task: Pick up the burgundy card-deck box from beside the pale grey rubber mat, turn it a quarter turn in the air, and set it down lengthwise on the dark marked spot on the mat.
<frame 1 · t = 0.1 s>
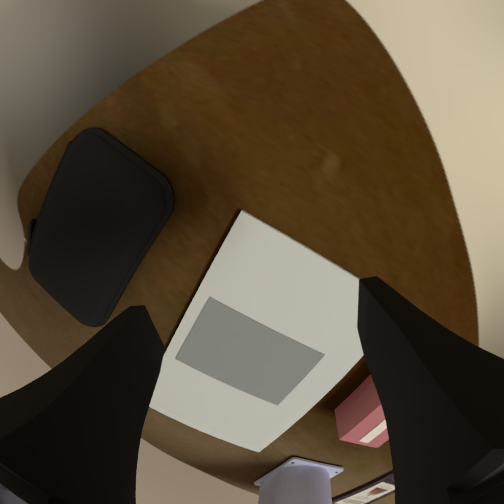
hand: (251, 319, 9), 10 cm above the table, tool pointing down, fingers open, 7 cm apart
deck box: (379, 389, 23), on the table
mat: (252, 368, 23), on the table
carrying case or bag: (93, 226, 21), on the table
chocolate bar: (389, 479, 30), on the table
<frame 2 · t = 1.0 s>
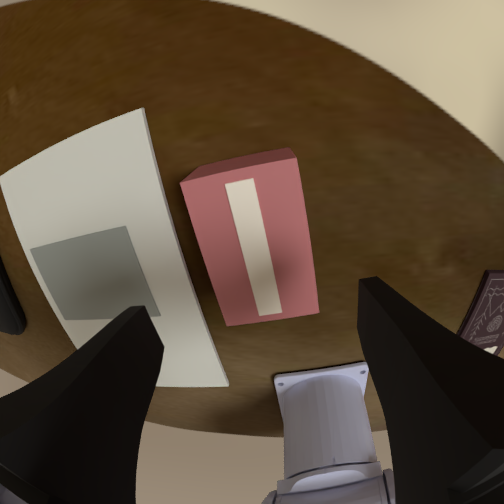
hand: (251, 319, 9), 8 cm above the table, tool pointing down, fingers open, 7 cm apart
deck box: (258, 222, 17), on the table
mat: (105, 288, 19), on the table
chocolate bar: (475, 342, 22), on the table
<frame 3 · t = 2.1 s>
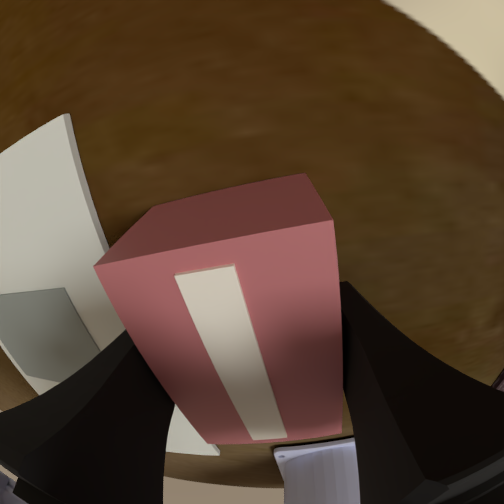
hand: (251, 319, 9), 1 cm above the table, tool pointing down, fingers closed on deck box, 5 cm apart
deck box: (253, 294, 11), on the table, touching gripper
mat: (60, 352, 13), on the table
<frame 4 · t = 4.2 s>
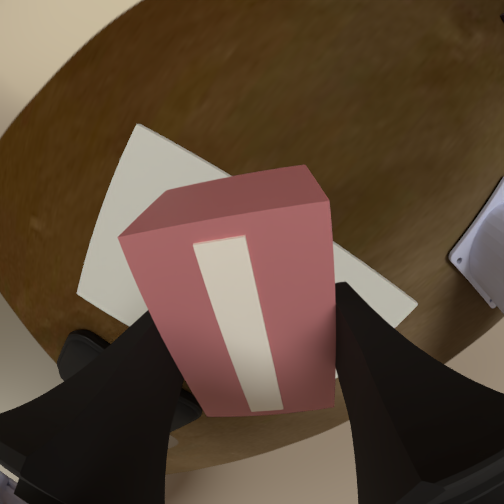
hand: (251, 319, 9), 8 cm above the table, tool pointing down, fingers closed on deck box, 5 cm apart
deck box: (254, 274, 12), point 6 cm above the table, touching gripper
mat: (240, 302, 19), on the table
carrying case or bag: (127, 379, 26), on the table
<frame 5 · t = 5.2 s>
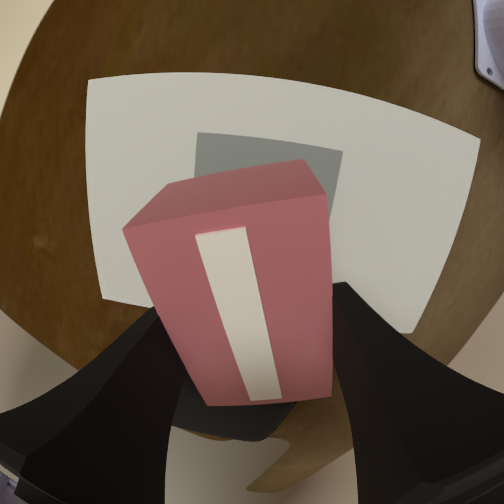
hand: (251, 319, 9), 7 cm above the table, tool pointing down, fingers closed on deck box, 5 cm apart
deck box: (253, 265, 12), point 4 cm above the table, touching gripper
mat: (279, 216, 15), on the table
carrying case or bag: (202, 387, 23), on the table
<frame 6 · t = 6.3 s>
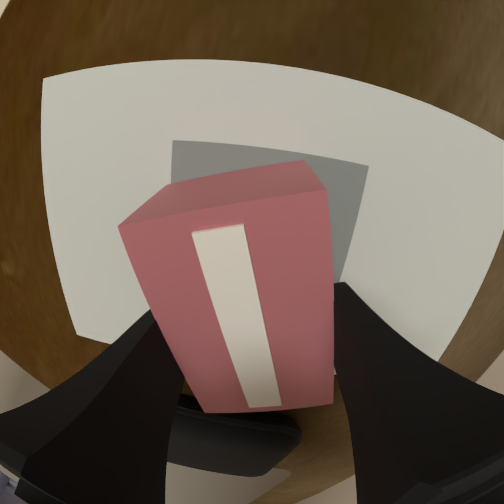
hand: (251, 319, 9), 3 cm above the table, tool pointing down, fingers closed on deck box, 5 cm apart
deck box: (253, 269, 12), resting on mat, touching gripper
mat: (283, 250, 12), on the table
carrying case or bag: (195, 422, 20), on the table
when the fingers open (3 cm above the table, at t = 6.3 s): deck box stays where it is, resting on mat.
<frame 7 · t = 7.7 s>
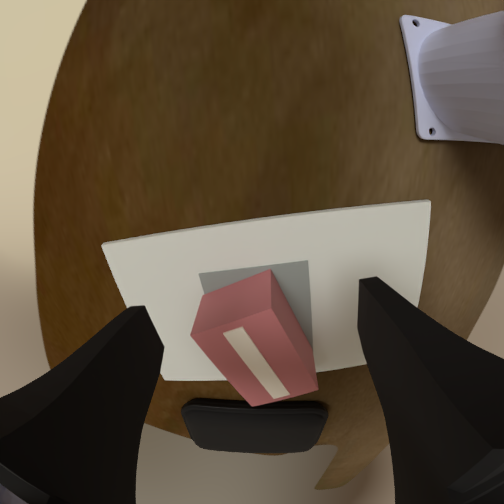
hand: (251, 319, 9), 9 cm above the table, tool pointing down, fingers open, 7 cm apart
deck box: (261, 325, 20), resting on mat
mat: (275, 311, 20), on the table
carrying case or bag: (254, 419, 28), on the table
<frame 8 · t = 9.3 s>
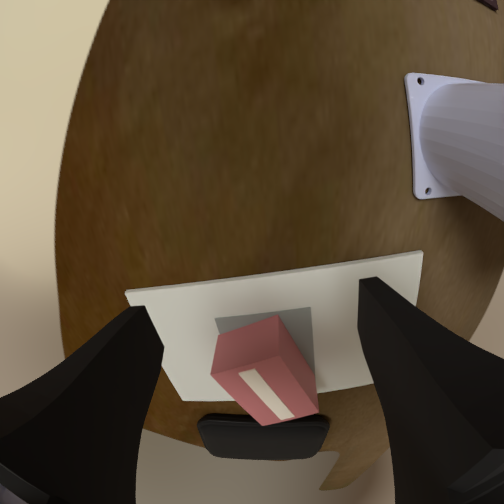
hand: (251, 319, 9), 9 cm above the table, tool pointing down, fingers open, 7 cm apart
deck box: (269, 357, 23), resting on mat
mat: (282, 345, 23), on the table
carrying case or bag: (263, 429, 31), on the table
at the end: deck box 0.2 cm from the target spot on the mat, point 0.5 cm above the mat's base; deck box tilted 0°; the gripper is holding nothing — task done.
